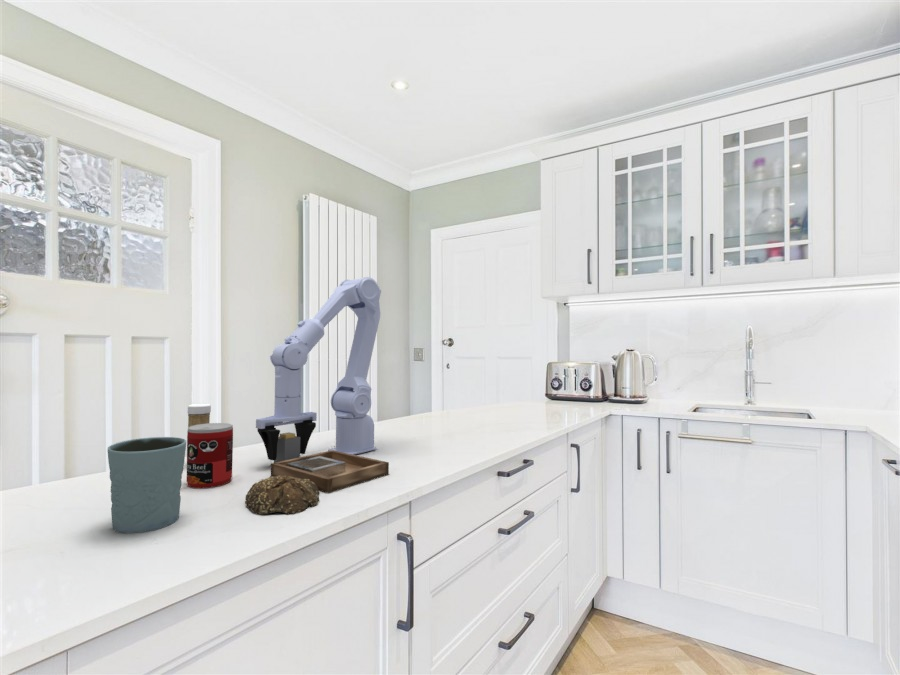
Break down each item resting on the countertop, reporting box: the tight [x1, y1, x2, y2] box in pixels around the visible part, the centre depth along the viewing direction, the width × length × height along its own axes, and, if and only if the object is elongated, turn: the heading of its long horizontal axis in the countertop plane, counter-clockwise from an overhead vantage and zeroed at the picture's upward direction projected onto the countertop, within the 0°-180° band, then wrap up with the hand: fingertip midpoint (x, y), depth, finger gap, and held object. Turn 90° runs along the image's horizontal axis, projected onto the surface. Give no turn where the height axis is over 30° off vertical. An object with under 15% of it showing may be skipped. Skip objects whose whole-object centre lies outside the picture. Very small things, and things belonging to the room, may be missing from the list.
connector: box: [273, 432, 301, 463], centre depth 107 cm, size 4×4×7 cm
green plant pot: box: [107, 436, 187, 534], centre depth 72 cm, size 10×10×12 cm
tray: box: [270, 450, 390, 494], centre depth 98 cm, size 16×18×2 cm
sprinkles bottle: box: [187, 403, 212, 428], centre depth 105 cm, size 5×5×14 cm
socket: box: [287, 456, 346, 477], centre depth 98 cm, size 8×8×2 cm
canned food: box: [186, 422, 234, 489], centre depth 92 cm, size 8×8×11 cm
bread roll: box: [244, 475, 321, 516], centre depth 82 cm, size 13×12×5 cm
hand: (287, 456), depth 107 cm, fingers open, 7 cm apart
